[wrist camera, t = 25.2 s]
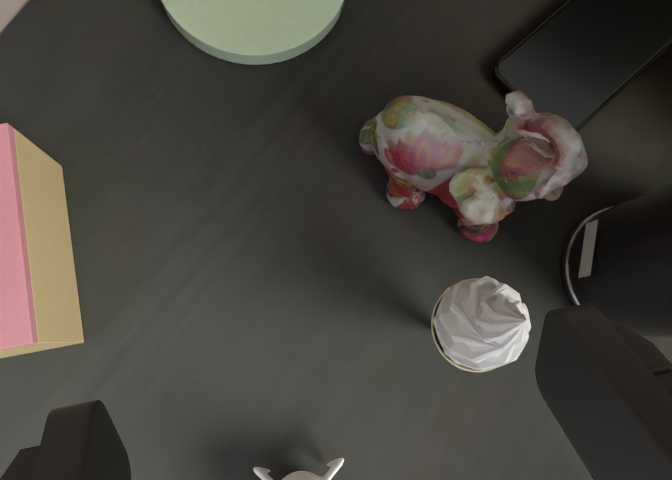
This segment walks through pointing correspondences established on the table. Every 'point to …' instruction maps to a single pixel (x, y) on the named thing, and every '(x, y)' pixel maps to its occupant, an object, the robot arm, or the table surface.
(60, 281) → the cake
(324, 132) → the table surface
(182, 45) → the table surface
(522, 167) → the figurine
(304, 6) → the plate
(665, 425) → the robot arm
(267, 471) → the rocket toy
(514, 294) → the ice cream cone
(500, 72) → the smartphone
